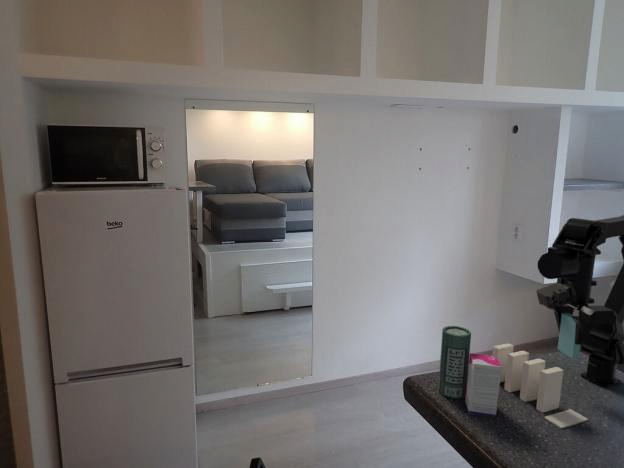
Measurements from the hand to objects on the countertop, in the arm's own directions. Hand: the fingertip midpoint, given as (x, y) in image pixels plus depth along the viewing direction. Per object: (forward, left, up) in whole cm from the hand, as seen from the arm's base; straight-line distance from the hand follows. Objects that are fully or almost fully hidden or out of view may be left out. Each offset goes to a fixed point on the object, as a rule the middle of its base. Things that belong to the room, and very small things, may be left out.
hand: (569, 339), depth 104 cm
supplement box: (+24, -2, -13) cm, 27 cm away
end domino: (0, 0, -3) cm, 3 cm away
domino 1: (+10, -10, -13) cm, 19 cm away
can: (+25, -10, -13) cm, 30 cm away
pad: (+10, +8, -13) cm, 18 cm away
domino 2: (+10, -5, -13) cm, 17 cm away
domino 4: (+10, +4, -13) cm, 17 cm away
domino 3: (+10, -1, -13) cm, 16 cm away
